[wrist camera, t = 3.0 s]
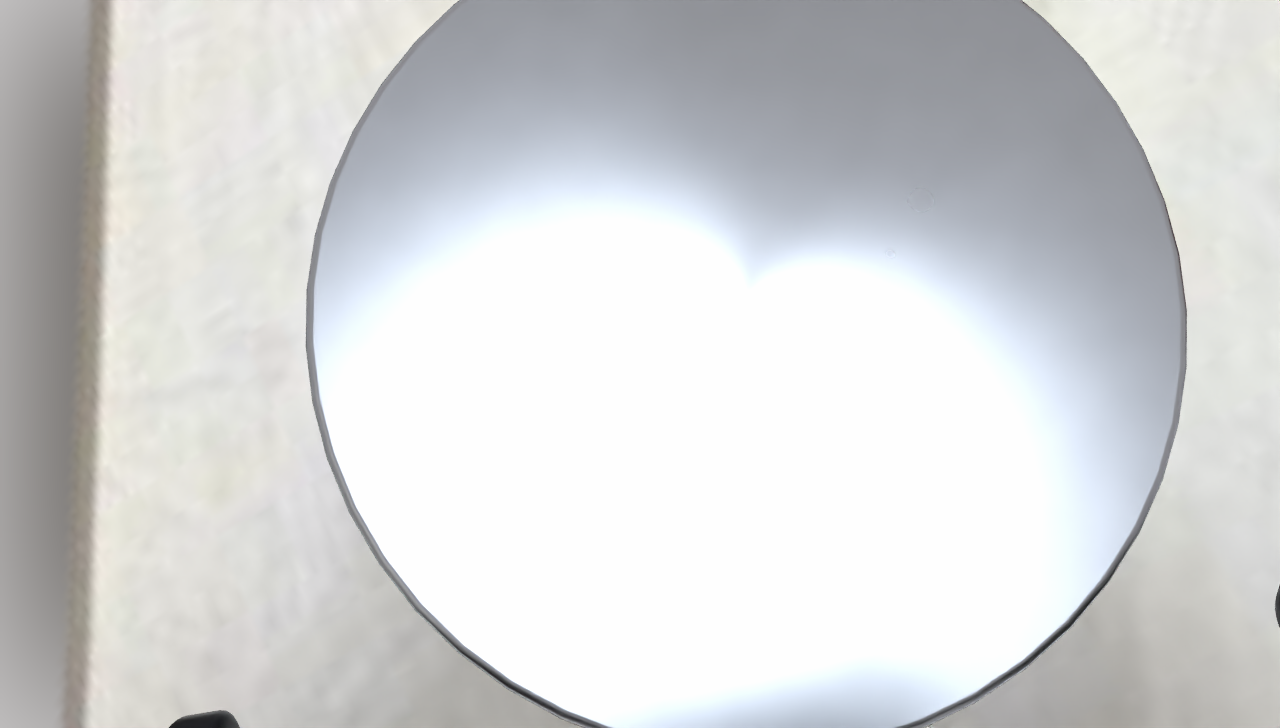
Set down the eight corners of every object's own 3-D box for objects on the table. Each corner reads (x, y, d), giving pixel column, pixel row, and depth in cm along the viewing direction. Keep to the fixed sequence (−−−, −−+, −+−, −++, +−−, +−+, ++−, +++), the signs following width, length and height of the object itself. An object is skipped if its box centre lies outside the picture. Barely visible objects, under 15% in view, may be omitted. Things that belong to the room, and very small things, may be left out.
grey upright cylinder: (776, 709, 19) (1005, 928, 7) (448, 559, 19) (142, 525, 7) (910, 381, 20) (1309, 87, 8) (595, 246, 20) (530, -222, 8)
